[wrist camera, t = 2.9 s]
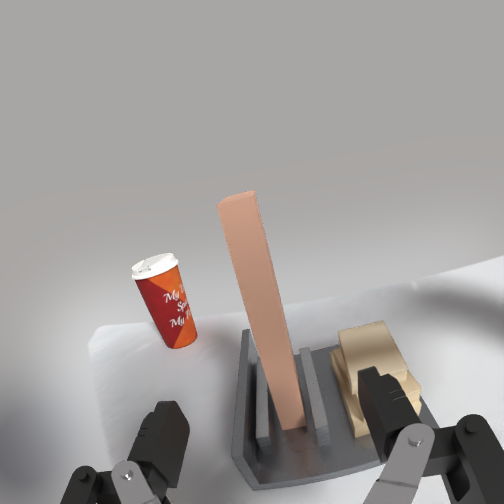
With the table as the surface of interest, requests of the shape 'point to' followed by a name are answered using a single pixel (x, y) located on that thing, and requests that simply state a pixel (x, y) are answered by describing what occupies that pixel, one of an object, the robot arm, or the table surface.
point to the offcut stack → (364, 356)
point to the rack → (302, 438)
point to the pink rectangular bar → (263, 303)
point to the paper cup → (166, 299)
